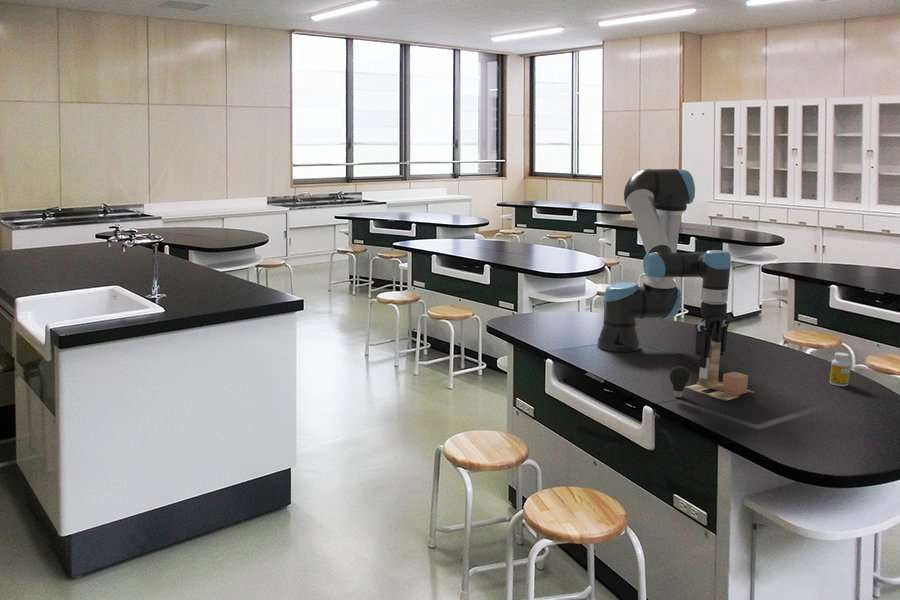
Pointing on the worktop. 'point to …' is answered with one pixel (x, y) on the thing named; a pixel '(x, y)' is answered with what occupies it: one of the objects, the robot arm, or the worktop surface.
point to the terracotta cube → (735, 382)
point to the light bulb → (679, 379)
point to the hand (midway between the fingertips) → (708, 376)
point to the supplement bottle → (840, 370)
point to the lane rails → (715, 389)
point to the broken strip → (717, 393)
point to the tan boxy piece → (713, 367)
